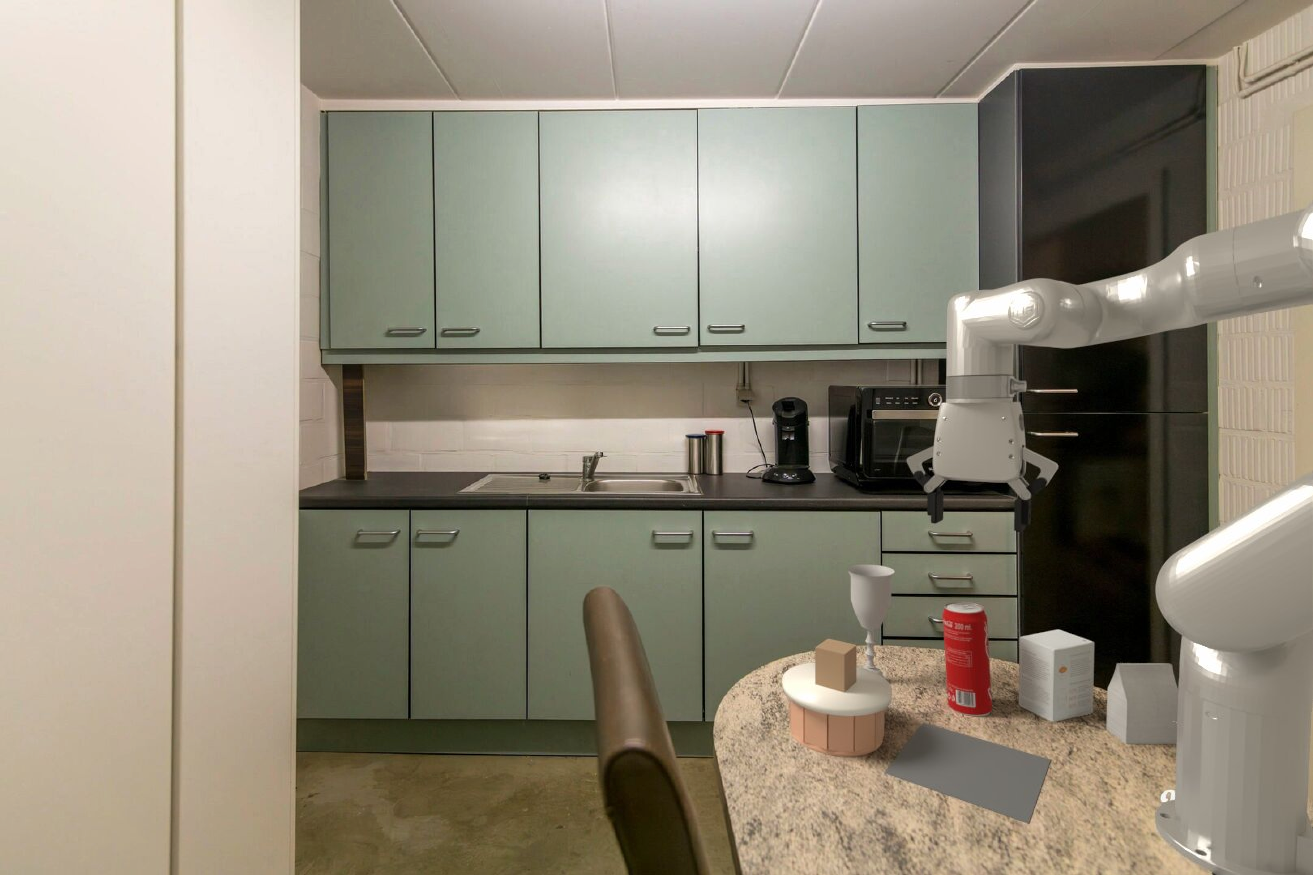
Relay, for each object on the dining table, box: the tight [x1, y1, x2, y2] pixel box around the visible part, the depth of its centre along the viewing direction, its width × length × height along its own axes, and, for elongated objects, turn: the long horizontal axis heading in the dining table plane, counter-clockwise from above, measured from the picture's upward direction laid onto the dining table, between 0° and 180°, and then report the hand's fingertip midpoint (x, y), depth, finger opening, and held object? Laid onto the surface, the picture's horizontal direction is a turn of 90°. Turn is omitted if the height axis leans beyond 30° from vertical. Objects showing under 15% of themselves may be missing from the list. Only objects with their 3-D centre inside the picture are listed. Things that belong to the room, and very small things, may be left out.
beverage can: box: [942, 601, 993, 717], centre depth 92 cm, size 6×6×15 cm
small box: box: [1018, 629, 1095, 723], centre depth 91 cm, size 8×6×10 cm
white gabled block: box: [1106, 662, 1178, 745], centre depth 83 cm, size 4×7×10 cm, turn 89°
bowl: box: [788, 698, 885, 758], centre depth 86 cm, size 12×12×6 cm
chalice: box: [847, 564, 895, 678], centre depth 101 cm, size 7×7×18 cm
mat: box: [884, 722, 1051, 824], centre depth 77 cm, size 15×15×1 cm
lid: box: [781, 638, 893, 716], centre depth 85 cm, size 14×14×6 cm
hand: (976, 525), depth 82 cm, fingers open, 9 cm apart
